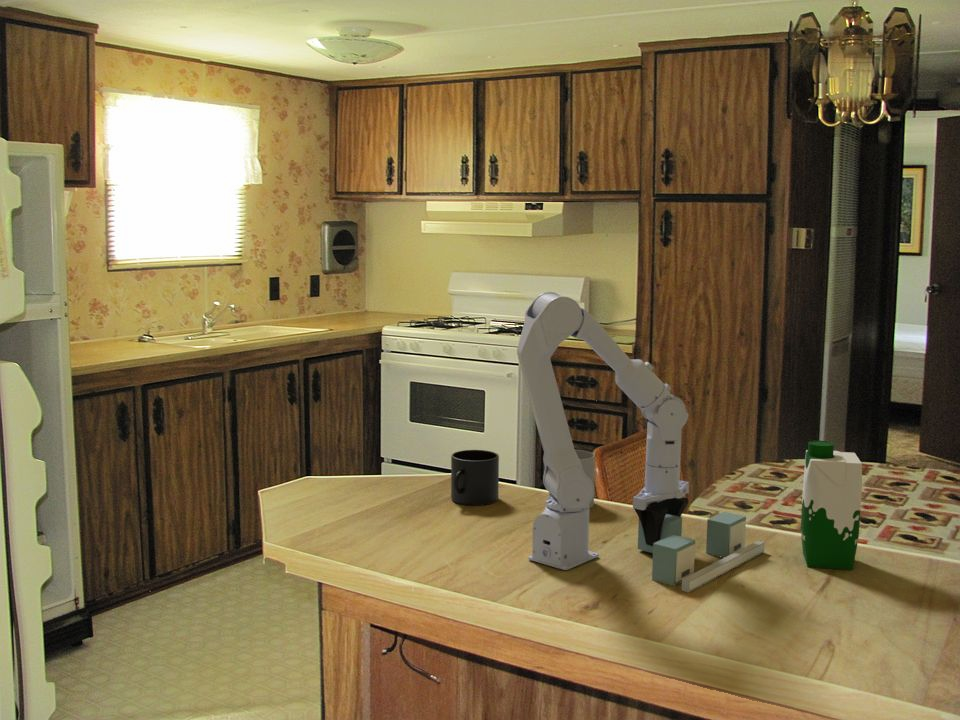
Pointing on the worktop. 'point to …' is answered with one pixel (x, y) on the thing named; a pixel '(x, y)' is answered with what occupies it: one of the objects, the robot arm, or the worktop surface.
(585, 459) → the cup
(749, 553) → the rail
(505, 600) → the worktop surface
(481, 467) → the mug
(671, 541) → the tea box
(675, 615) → the worktop surface
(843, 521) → the milk carton
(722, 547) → the tea box
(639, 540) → the tea box
